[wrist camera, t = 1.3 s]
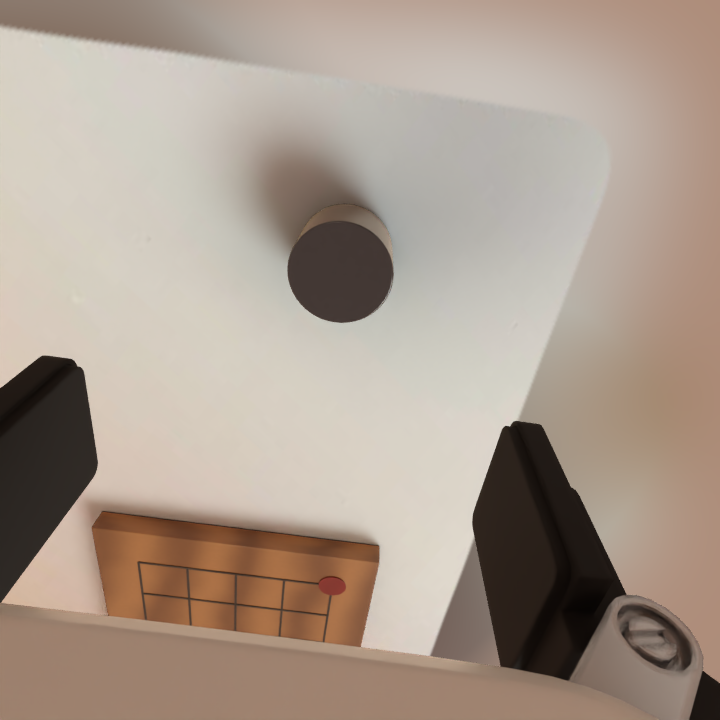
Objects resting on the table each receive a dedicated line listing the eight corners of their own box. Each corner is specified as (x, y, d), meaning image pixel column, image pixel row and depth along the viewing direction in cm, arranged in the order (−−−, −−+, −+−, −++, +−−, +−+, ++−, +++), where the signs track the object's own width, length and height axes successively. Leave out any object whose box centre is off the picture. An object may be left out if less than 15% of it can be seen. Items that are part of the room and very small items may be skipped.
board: (379, 545, 36) (379, 564, 35) (347, 694, 46) (346, 713, 44) (101, 511, 35) (90, 528, 34) (129, 669, 45) (120, 687, 44)
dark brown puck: (371, 187, 24) (369, 203, 21) (405, 276, 26) (408, 302, 23) (283, 225, 25) (268, 245, 22) (322, 307, 27) (314, 336, 24)
